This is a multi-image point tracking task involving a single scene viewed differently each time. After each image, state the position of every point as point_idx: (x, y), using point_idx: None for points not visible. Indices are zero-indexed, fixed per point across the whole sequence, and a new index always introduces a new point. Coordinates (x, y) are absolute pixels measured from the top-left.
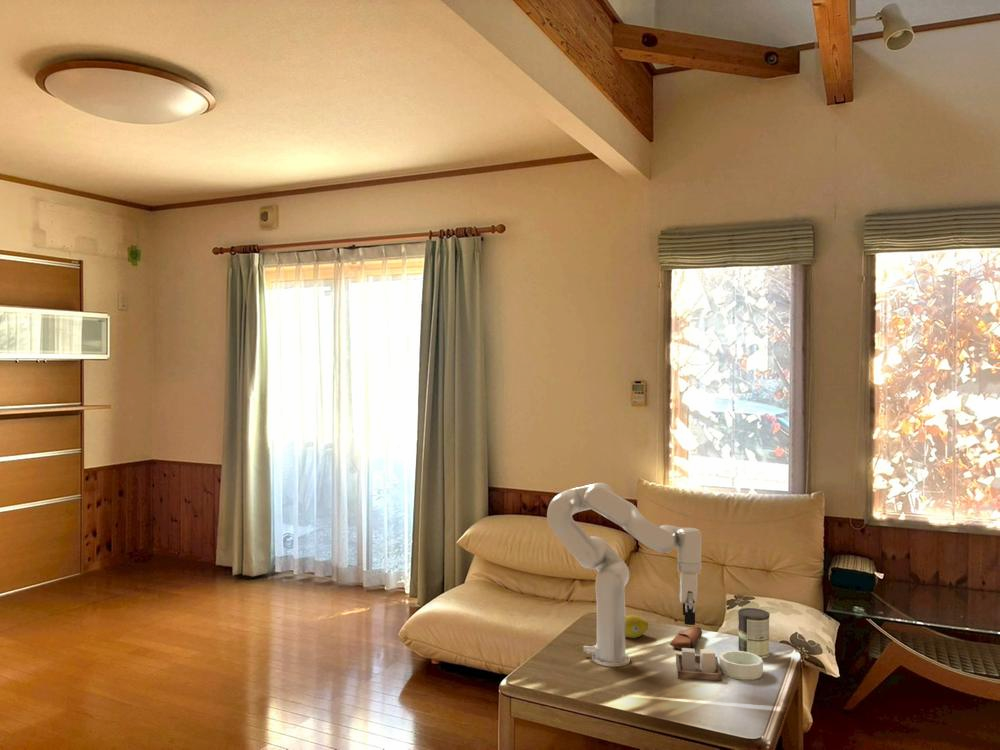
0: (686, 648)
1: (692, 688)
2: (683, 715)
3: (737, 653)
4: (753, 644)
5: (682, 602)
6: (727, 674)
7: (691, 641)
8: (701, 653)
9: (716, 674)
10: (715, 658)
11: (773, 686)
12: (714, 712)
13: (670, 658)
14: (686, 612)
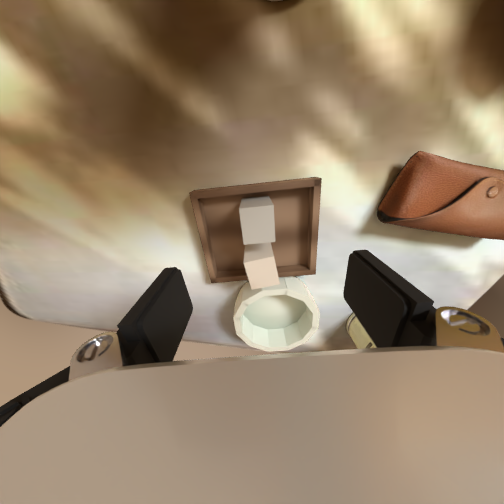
0: (271, 219)
1: (152, 224)
2: (4, 212)
3: (311, 316)
4: (360, 343)
5: (5, 426)
6: (244, 286)
7: (399, 221)
8: (255, 257)
9: (209, 274)
10: (303, 271)
11: (225, 338)
12: (65, 264)
13: (330, 160)
14: (126, 332)
